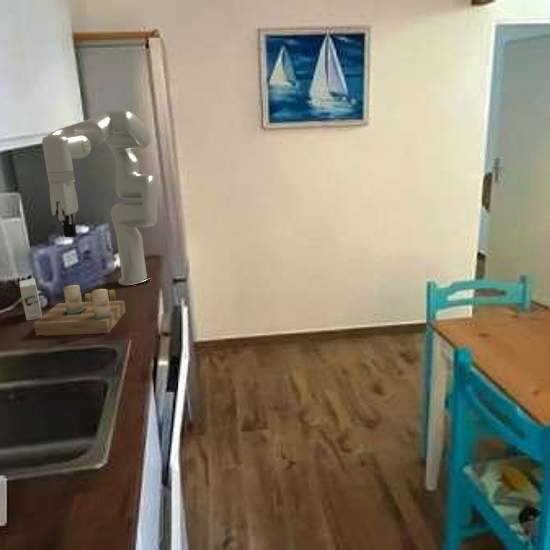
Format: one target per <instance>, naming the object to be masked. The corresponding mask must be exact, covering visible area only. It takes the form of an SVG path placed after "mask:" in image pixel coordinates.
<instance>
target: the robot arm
mask: <svg viewBox="0 0 550 550" xmlns="http://www.w3.org/2000/svg"><path fill="white" fill-rule="evenodd" d="M41 139H42V140H41V143H42V150H43V151H42V152H43V155H44V156H43V157H44V162H45V163H44V164H45V167H46V175H47V180H48V184H49V199H50V208H51V215H52V216H53V217H57V216H58V221H61V224H62V227H63V235H64V237H65V238H75V237H77V227H76V216H77V212H78V211H79V202H78V201H79V200H78V195H77V191H76V188H75V182H76V178H75V171H74V166H73V160H75V159H76V160H77V159H78V160H79V159H84V158H86V157H87V156H89V154H91V150H92V147H95V146H98V145H100V144H102V143H103V142H105V143H106V145H107V146H108V148H109V149H110V151H111V153H112V154H113V157H114V159H115V165H116V168H115V170H116V171H115V172H116V173H115V174H116V175H115V192H116V195H117V196H118V198H119V199H120V198H121V199H123V200H142V202H141V201H137V202H135V201H129V202H127V201H125V202H118V203H116V204H114V205H113V206H112V207H111V210H110V218H111V221H112V224H113V227H114V231H115V236H116V241H117V249H118V256H119V265H120V271H121V277H120V278H119V279H118V281H117V282H118V284H119V285H121V286H125V287H126V286H129V285H133V286H135V285H134V284H138V283H141V282H144V281H146V280H148V279H150V278H148V279H146V278H147V275H148V274H147V268H146V267H147V266H146V260H145V251H144V241H143V236H142V234H141V232H140V230H139V229H138V228H151V227H154V226H155V225H156V224H157V221H158V211H159V210H158V207H159V185H158V182H157V179H156V177H155V176H154V175H153V174H149V173H140V162H139V159H138V157H137V156H136V154H135V153H134V152H133V151H132V150H135V149H136V150H137V149H139V150H141V149H145V148H147V147H148V146H150V144H151V133H150V131H149V128H147V126H146V125H145V124H144V123H143V121H141V119H139V117H138V116H136V115H135V114H134V113H133V112H132V111H129V110H127V109H114V110H110V109H109V110H102V111H100V112H98V113H96V114H95V115H93V116H91V117H90V118H88V119H86V120H84V121H80V122H76V123H74V124H70V125H67V126H65V127H61V128H58V129H55V131H52V132H50V133H48V134H47V135H46V136H43V138H41ZM144 279H145V280H144Z"/></svg>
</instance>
